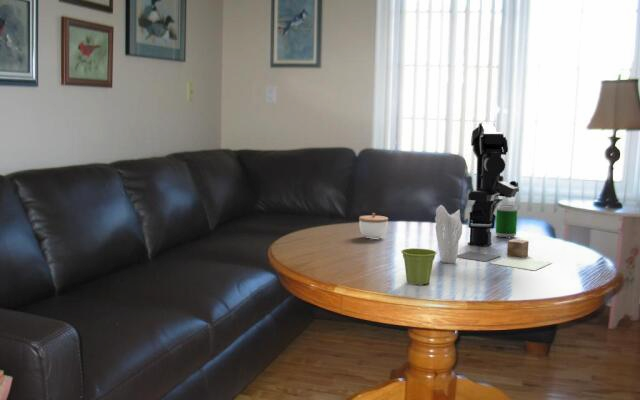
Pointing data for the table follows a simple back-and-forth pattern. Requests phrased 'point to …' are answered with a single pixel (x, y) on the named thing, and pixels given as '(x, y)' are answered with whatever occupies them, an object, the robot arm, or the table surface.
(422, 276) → the plant pot
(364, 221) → the lidded jar
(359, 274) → the table surface
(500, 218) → the soda can
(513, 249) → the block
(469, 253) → the mat
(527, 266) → the mat
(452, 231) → the shell sculpture
